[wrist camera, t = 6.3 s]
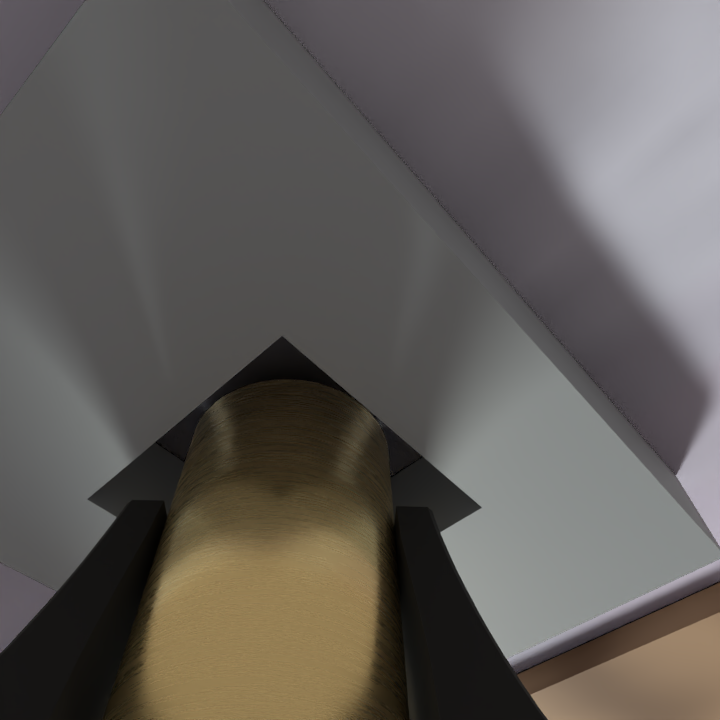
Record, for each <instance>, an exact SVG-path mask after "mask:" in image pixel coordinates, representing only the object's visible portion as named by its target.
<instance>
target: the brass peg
mask: <svg viewBox="0 0 720 720" xmlns="http://www.w3.org/2000/svg"><path fill="white" fill-rule="evenodd" d="M102 720H410V718H409V705H408V693H407V680H406V667H405V655H404V642H403V629H402V617H401V604H400V591H399V578H398V569H397V556H396V543H395V531H394V515H393V502H392V490H391V477H390V464H389V451H388V446H387V441H386V438H385V435H384V433H383V430H382V429H381V427H380V425H379V423H378V422H377V420H376V419H375V418H374V417H373V415H372V414H371V413H370V412H369V411H368V410H367V409H366V408H365V407H364V406H363V405H361V404H360V403H359V402H357V401H356V400H354V399H353V398H352V397H350V396H348V395H346V394H344V393H343V392H341V391H339V390H336V389H334V388H331V387H329V386H325V385H322V384H318V383H315V382H309V381H303V380H292V379H280V380H268V381H262V382H257V383H253V384H250V385H246V386H243V387H241V388H239V389H236V390H234V391H232V392H230V393H228V394H227V395H225V396H223V397H222V398H220V399H219V400H218V401H216V402H215V403H214V404H213V405H212V406H211V407H210V408H209V409H208V410H207V411H206V412H205V414H204V415H203V416H202V418H201V419H200V421H199V423H198V425H197V427H196V429H195V432H194V435H193V438H192V441H191V444H190V448H189V451H188V454H187V457H186V460H185V463H184V466H183V469H182V473H181V476H180V479H179V482H178V485H177V488H176V491H175V494H174V498H173V501H172V504H171V507H170V510H169V513H168V516H167V519H166V523H165V526H164V529H163V532H162V535H161V538H160V541H159V544H158V547H157V551H156V554H155V557H154V560H153V563H152V566H151V569H150V572H149V576H148V579H147V582H146V585H145V588H144V591H143V594H142V597H141V601H140V604H139V607H138V610H137V613H136V616H135V619H134V622H133V626H132V629H131V632H130V635H129V638H128V641H127V644H126V647H125V650H124V654H123V657H122V660H121V663H120V666H119V669H118V672H117V675H116V679H115V682H114V685H113V688H112V691H111V694H110V697H109V700H108V704H107V707H106V710H105V713H104V716H103V719H102Z"/></svg>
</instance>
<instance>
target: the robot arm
mask: <svg viewBox="0 0 720 720" xmlns="http://www.w3.org/2000/svg"><path fill="white" fill-rule="evenodd" d="M166 519H167V513H166V508H165V502H164V500H131V501H130V502H129V503H127V504H126V506H125V507H124V508H123V510H122V511H121V512H120V514H119V515H118V516H117V518H116V519H115V520H114V522H113V523H112V524H111V526H110V527H109V528H108V530H107V531H106V532H105V534H104V535H103V536H102V537H101V539H100V540H99V541H98V543H97V544H96V545H95V546H94V548H93V549H92V550H91V551H90V553H89V554H88V555H87V556H86V558H85V559H84V560H83V561H82V563H81V564H80V565H79V566H78V567H77V569H76V570H75V571H74V572H73V573H72V574H71V576H70V577H69V578H68V579H67V580H66V582H65V583H64V584H63V585H62V586H61V588H60V589H59V590H58V591H57V592H56V593H55V595H54V596H53V597H52V598H51V599H50V600H49V602H48V603H47V604H46V605H45V606H44V607H43V608H42V609H41V610H40V612H39V613H38V614H37V615H36V616H35V617H34V618H33V619H32V620H31V621H30V622H29V623H28V625H27V626H26V627H25V628H24V629H23V630H22V631H21V632H20V633H19V634H18V635H17V637H16V638H15V639H14V640H13V641H12V642H11V643H10V644H9V645H8V646H7V647H6V648H5V649H4V650H3V651H2V652H1V653H0V720H102V719H103V716H104V713H105V710H106V707H107V704H108V700H109V697H110V694H111V691H112V688H113V685H114V682H115V679H116V675H117V672H118V669H119V666H120V663H121V660H122V657H123V654H124V650H125V647H126V644H127V641H128V638H129V635H130V632H131V629H132V626H133V622H134V619H135V616H136V613H137V610H138V607H139V604H140V601H141V597H142V594H143V591H144V588H145V585H146V582H147V579H148V576H149V572H150V569H151V566H152V563H153V560H154V557H155V554H156V551H157V547H158V544H159V541H160V538H161V535H162V532H163V529H164V526H165V523H166ZM394 531H395V543H396V556H397V569H398V578H399V591H400V604H401V617H402V629H403V642H404V655H405V667H406V680H407V693H408V705H409V718H410V720H548V719H547V718H546V716H545V715H544V714H543V712H542V711H541V710H540V708H539V707H538V705H537V704H536V702H535V701H534V700H533V698H532V697H531V695H530V694H529V692H528V691H527V689H526V688H525V687H524V685H523V684H522V682H521V681H520V679H519V678H518V676H517V675H516V673H515V671H514V670H513V668H512V667H511V665H510V664H509V662H508V661H507V659H506V657H505V656H504V654H503V653H502V651H501V649H500V648H499V646H498V644H497V643H496V641H495V639H494V638H493V636H492V634H491V633H490V631H489V629H488V627H487V626H486V624H485V622H484V620H483V619H482V617H481V615H480V613H479V611H478V610H477V608H476V606H475V604H474V602H473V600H472V598H471V596H470V595H469V593H468V591H467V589H466V587H465V585H464V583H463V581H462V579H461V577H460V575H459V573H458V571H457V569H456V567H455V565H454V563H453V561H452V558H451V556H450V554H449V552H448V550H447V547H446V545H445V543H444V541H443V538H442V536H441V533H440V531H439V528H438V526H437V523H436V520H435V517H434V514H433V511H432V510H430V509H429V508H428V507H410V506H396V513H395V521H394Z"/></svg>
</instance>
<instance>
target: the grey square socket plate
mask: <svg viewBox="0 0 720 720" xmlns="http://www.w3.org/2000/svg"><path fill="white" fill-rule="evenodd" d="M281 336H283V337H284V338H285V339H286V340H288V341H289V342H290V343H291V344H292V345H293V346H295V347H296V348H297V349H298V350H299V351H300V352H302V353H303V354H304V355H305V356H306V357H307V358H309V359H310V360H311V361H312V362H313V363H314V364H316V365H317V366H318V367H319V368H320V369H321V370H323V371H324V372H325V373H326V374H327V375H328V376H330V377H331V378H332V379H333V380H334V381H335V382H337V383H338V384H339V385H340V386H341V387H342V388H343V389H345V390H346V391H347V392H348V393H349V394H350V395H352V396H353V397H354V398H355V399H356V400H357V401H359V402H360V403H361V404H362V405H363V406H364V407H366V408H367V409H368V410H369V411H370V412H371V413H373V414H374V415H375V416H376V417H377V418H378V419H380V420H381V421H382V422H383V423H384V424H385V425H387V426H388V427H389V428H390V429H391V430H392V431H394V432H395V433H396V434H397V435H398V436H399V437H401V438H402V439H403V440H404V441H405V442H406V443H408V444H409V445H410V446H411V447H412V448H413V449H415V450H416V451H417V452H418V453H419V454H420V455H422V456H423V457H422V458H421V459H419V460H418V461H416V462H415V463H413V464H412V465H410V466H408V467H407V468H405V469H404V470H402V471H401V472H399V473H398V474H396V475H395V476H393V477H392V478H391V490H392V502H393V515H394V521H395V513H396V506H410V507H428V508H429V509H430V510H432V511H433V514H434V517H435V520H436V523H437V526H438V528H439V531H440V533H441V536H442V538H443V541H444V543H445V545H446V547H447V550H448V552H449V554H450V556H451V558H452V561H453V563H454V565H455V567H456V569H457V571H458V573H459V575H460V577H461V579H462V581H463V583H464V585H465V587H466V589H467V591H468V593H469V595H470V596H471V598H472V600H473V602H474V604H475V606H476V608H477V610H478V611H479V613H480V615H481V617H482V619H483V620H484V622H485V624H486V626H487V627H488V629H489V631H490V633H491V634H492V636H493V638H494V639H495V641H496V643H497V644H498V646H499V648H500V649H501V651H502V653H503V654H504V656H505V657H506V659H508V658H510V657H512V656H514V655H516V654H518V653H520V652H522V651H525V650H527V649H529V648H531V647H533V646H535V645H537V644H540V643H542V642H544V641H546V640H548V639H550V638H552V637H554V636H557V635H559V634H561V633H563V632H565V631H567V630H569V629H572V628H574V627H576V626H578V625H580V624H582V623H584V622H586V621H589V620H591V619H593V618H595V617H597V616H599V615H601V614H603V613H606V612H608V611H610V610H612V609H614V608H616V607H618V606H621V605H623V604H625V603H627V602H629V601H631V600H633V599H635V598H638V597H640V596H642V595H644V594H646V593H648V592H650V591H653V590H655V589H657V588H659V587H661V586H663V585H665V584H667V583H670V582H672V581H674V580H676V579H678V578H680V577H682V576H684V575H687V574H689V573H691V572H693V571H695V570H697V569H699V568H702V567H704V566H706V565H708V564H710V563H712V562H714V561H716V560H719V559H720V546H719V545H718V543H717V542H716V540H715V538H714V537H713V535H712V534H711V532H710V530H709V529H708V527H707V525H706V524H705V522H704V521H703V519H702V517H701V516H700V514H699V513H698V511H697V509H696V508H695V506H694V504H693V503H692V501H691V500H690V498H689V496H688V495H687V493H686V492H685V490H684V488H683V487H682V485H681V483H680V482H679V480H678V479H677V477H676V476H675V475H674V474H673V472H672V471H671V470H670V469H669V468H668V467H667V466H666V464H665V463H664V462H663V461H662V460H661V459H660V457H659V456H658V455H657V454H656V453H655V452H654V451H653V449H652V448H651V447H650V446H649V445H648V444H647V443H646V441H645V440H644V439H643V438H642V437H641V436H640V434H639V433H638V432H637V431H636V430H635V429H634V428H633V426H632V425H631V424H630V423H629V422H628V421H627V419H626V418H625V417H624V416H623V415H622V414H621V413H620V411H619V410H618V409H617V408H616V407H615V406H614V404H613V403H612V402H611V401H610V400H609V399H608V398H607V396H606V395H605V394H604V393H603V392H602V391H601V389H600V388H599V387H598V386H597V385H596V384H595V383H594V381H593V380H592V379H591V378H590V377H589V376H588V374H587V373H586V372H585V371H584V370H583V369H582V368H581V366H580V365H579V364H578V363H577V362H576V361H575V359H574V358H573V357H572V356H571V355H570V354H569V353H568V351H567V350H566V349H565V348H564V347H563V346H562V344H561V343H560V342H559V341H558V340H557V339H556V338H555V336H554V335H553V334H552V333H551V332H550V331H549V329H548V328H547V327H546V326H545V325H544V324H543V323H542V321H541V320H540V319H539V318H538V317H537V316H536V314H535V313H534V312H533V311H532V310H531V309H530V308H529V306H528V305H527V304H526V303H525V302H524V301H523V300H522V298H521V297H520V296H519V295H518V294H517V293H516V291H515V290H514V289H513V288H512V287H511V286H510V285H509V283H508V282H507V281H506V280H505V279H504V278H503V276H502V275H501V274H500V273H499V272H498V271H497V270H496V268H495V267H494V266H493V265H492V264H491V263H490V261H489V260H488V259H487V258H486V257H485V256H484V255H483V253H482V252H481V251H480V250H479V249H478V248H477V246H476V245H475V244H474V243H473V242H472V241H471V240H470V238H469V237H468V236H467V235H466V234H465V233H464V231H463V230H462V229H461V228H460V227H459V226H458V225H457V223H456V222H455V221H454V220H453V219H452V218H451V216H450V215H449V214H448V213H447V212H446V211H445V210H444V208H443V207H442V206H441V205H440V204H439V203H438V201H437V200H436V199H435V198H434V197H433V196H432V195H431V193H430V192H429V191H428V190H427V189H426V188H425V186H424V185H423V184H422V183H421V182H420V181H419V180H418V178H417V177H416V176H415V175H414V174H413V173H412V171H411V170H410V169H409V168H408V167H407V166H406V165H405V163H404V162H403V161H402V160H401V159H400V158H399V157H398V155H397V154H396V153H395V152H394V151H393V150H392V148H391V147H390V146H389V145H388V144H387V143H386V142H385V140H384V139H383V138H382V137H381V136H380V135H379V133H378V132H377V131H376V130H375V129H374V128H373V127H372V125H371V124H370V123H369V122H368V121H367V120H366V118H365V117H364V116H363V115H362V114H361V113H360V112H359V110H358V109H357V108H356V107H355V106H354V105H353V103H352V102H351V101H350V100H349V99H348V98H347V97H346V95H345V94H344V93H343V92H342V91H341V90H340V88H339V87H338V86H337V85H336V84H335V83H334V82H333V80H332V79H331V78H330V77H329V76H328V75H327V73H326V72H325V71H324V70H323V69H322V68H321V67H320V65H319V64H318V63H317V62H316V61H315V60H314V58H313V57H312V56H311V55H310V54H309V53H308V52H307V50H306V49H305V48H304V47H303V46H302V45H301V43H300V42H299V41H298V40H297V39H296V38H295V37H294V35H293V34H292V33H291V32H290V31H289V30H288V28H287V27H286V26H285V25H284V24H283V23H282V22H281V20H280V19H279V18H278V17H277V16H276V15H275V14H274V12H273V11H272V10H271V9H270V8H269V7H268V5H267V4H266V3H265V2H264V1H263V0H85V1H84V3H83V4H82V5H81V7H80V8H79V9H78V11H77V12H76V13H75V15H74V16H73V18H72V19H71V20H70V22H69V23H68V24H67V26H66V27H65V28H64V30H63V31H62V32H61V34H60V35H59V37H58V38H57V39H56V41H55V42H54V43H53V45H52V46H51V47H50V49H49V50H48V51H47V53H46V54H45V56H44V57H43V58H42V60H41V61H40V62H39V64H38V65H37V66H36V68H35V69H34V70H33V72H32V73H31V75H30V76H29V77H28V79H27V80H26V81H25V83H24V84H23V85H22V87H21V88H20V89H19V91H18V92H17V94H16V95H15V96H14V98H13V99H12V100H11V102H10V103H9V104H8V106H7V107H6V108H5V110H4V111H3V113H2V114H1V115H0V563H2V564H4V565H6V566H8V567H10V568H12V569H14V570H16V571H18V572H20V573H22V574H24V575H26V576H28V577H30V578H32V579H34V580H36V581H38V582H39V583H41V584H43V585H45V586H47V587H49V588H51V589H53V590H55V591H58V590H59V589H60V588H61V586H62V585H63V584H64V583H65V582H66V580H67V579H68V578H69V577H70V576H71V574H72V573H73V572H74V571H75V570H76V569H77V567H78V566H79V565H80V564H81V563H82V561H83V560H84V559H85V558H86V556H87V555H88V554H89V553H90V551H91V550H92V549H93V548H94V546H95V545H96V544H97V543H98V541H99V540H100V539H101V537H102V536H103V535H104V534H105V532H106V531H107V530H108V528H109V527H110V526H111V524H112V523H113V522H114V520H115V519H116V518H117V516H118V515H119V514H120V512H121V511H122V510H123V508H124V507H125V506H126V504H127V503H129V502H130V501H131V500H164V502H165V508H166V513H167V516H168V513H169V510H170V507H171V504H172V501H173V498H174V494H175V491H176V488H177V485H178V482H179V479H180V476H181V473H182V469H183V466H184V462H183V461H181V460H180V459H178V458H177V457H176V456H174V455H173V454H171V453H170V452H168V451H167V450H165V449H164V448H162V447H161V446H159V445H158V444H156V443H155V442H156V441H157V440H158V439H160V438H161V437H162V436H163V435H164V434H166V433H167V432H168V431H169V430H170V429H172V428H173V427H174V426H175V425H176V424H178V423H179V422H180V421H181V420H182V419H183V418H185V417H186V416H187V415H188V414H189V413H191V412H192V411H193V410H194V409H195V408H197V407H198V406H199V405H200V404H201V403H203V402H204V401H205V400H206V399H207V398H209V397H210V396H211V395H212V394H213V393H215V392H216V391H217V390H218V389H219V388H220V387H222V386H223V385H224V384H225V383H226V382H228V381H229V380H230V379H231V378H232V377H234V376H235V375H236V374H237V373H238V372H240V371H241V370H242V369H243V368H244V367H246V366H247V365H248V364H249V363H250V362H251V361H253V360H254V359H255V358H256V357H257V356H259V355H260V354H261V353H262V352H263V351H265V350H266V349H267V348H268V347H269V346H271V345H272V344H273V343H274V342H275V341H277V340H278V339H279V338H280V337H281Z"/></svg>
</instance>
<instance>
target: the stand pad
mask: <svg viewBox="0 0 720 720" xmlns="http://www.w3.org/2000/svg"><path fill="white" fill-rule="evenodd" d="M517 676H518V678H519V679H520V681H521V682H522V684H523V685H524V687H525V688H526V689H527V691H528V692H529V694H530V695H531V697H532V698H533V700H534V701H535V702H536V704H537V705H538V707H539V708H540V710H541V711H542V712H543V714H544V715H545V716H546V718H547V719H548V720H720V583H718V584H716V585H713V586H711V587H709V588H707V589H704V590H702V591H700V592H698V593H696V594H693V595H691V596H689V597H687V598H685V599H682V600H680V601H678V602H676V603H674V604H671V605H669V606H667V607H665V608H663V609H660V610H658V611H656V612H654V613H652V614H649V615H647V616H645V617H643V618H641V619H638V620H636V621H634V622H632V623H630V624H627V625H625V626H623V627H621V628H619V629H616V630H614V631H612V632H610V633H608V634H605V635H603V636H601V637H599V638H597V639H594V640H592V641H590V642H588V643H586V644H583V645H581V646H579V647H577V648H575V649H572V650H570V651H568V652H566V653H564V654H561V655H559V656H557V657H555V658H553V659H550V660H548V661H546V662H544V663H542V664H539V665H537V666H535V667H533V668H531V669H528V670H526V671H524V672H522V673H520V674H517Z"/></svg>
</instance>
